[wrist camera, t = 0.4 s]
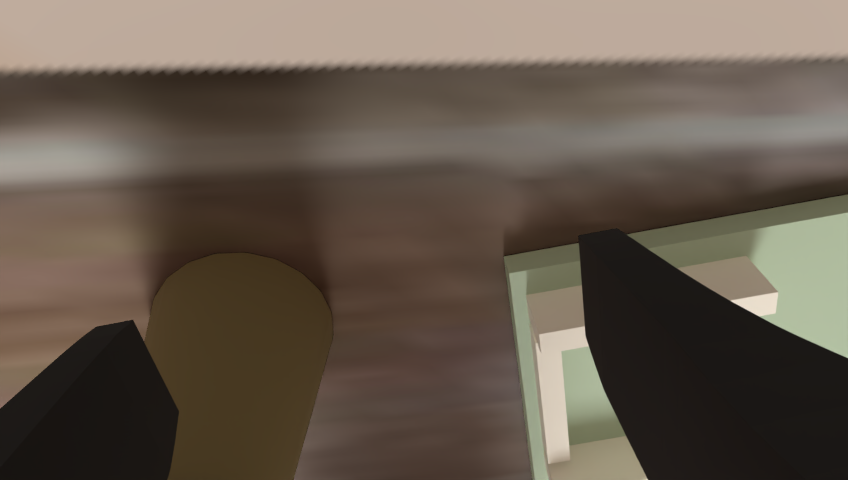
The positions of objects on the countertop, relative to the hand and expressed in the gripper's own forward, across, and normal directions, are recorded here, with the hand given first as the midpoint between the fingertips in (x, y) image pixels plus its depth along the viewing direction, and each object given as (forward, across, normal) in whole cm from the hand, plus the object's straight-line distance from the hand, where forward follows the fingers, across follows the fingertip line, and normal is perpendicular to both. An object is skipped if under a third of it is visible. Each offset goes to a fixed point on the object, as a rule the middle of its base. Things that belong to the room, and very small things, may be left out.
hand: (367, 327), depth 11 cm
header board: (+10, -9, +12) cm, 18 cm away
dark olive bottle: (+10, +6, +7) cm, 13 cm away
